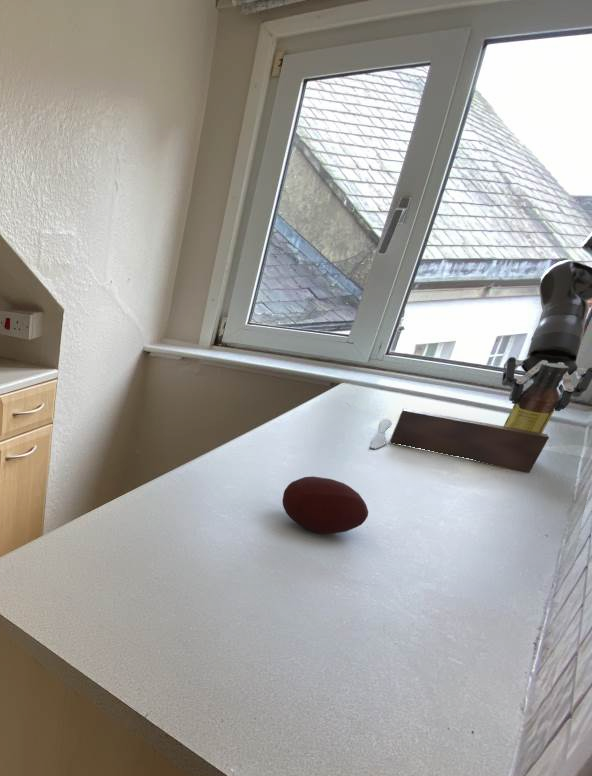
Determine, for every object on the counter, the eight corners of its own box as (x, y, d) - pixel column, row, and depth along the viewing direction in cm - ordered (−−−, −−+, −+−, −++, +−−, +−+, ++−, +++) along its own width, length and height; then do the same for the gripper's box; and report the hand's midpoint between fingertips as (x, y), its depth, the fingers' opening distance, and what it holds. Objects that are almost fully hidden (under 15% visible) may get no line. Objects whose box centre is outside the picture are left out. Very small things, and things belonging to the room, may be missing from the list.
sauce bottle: (507, 445, 126) (553, 360, 117) (537, 456, 121) (587, 368, 112) (484, 446, 125) (528, 360, 116) (513, 458, 120) (561, 368, 111)
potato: (260, 514, 94) (274, 470, 90) (306, 504, 98) (321, 462, 94) (323, 550, 84) (341, 502, 81) (370, 537, 88) (391, 491, 84)
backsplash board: (527, 469, 116) (547, 434, 112) (529, 472, 114) (549, 437, 110) (389, 440, 128) (403, 408, 125) (389, 443, 127) (403, 410, 123)
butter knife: (396, 420, 140) (383, 417, 141) (381, 450, 122) (366, 445, 123) (395, 422, 140) (382, 419, 142) (380, 452, 122) (365, 448, 124)
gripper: (519, 325, 121) (499, 389, 117) (613, 335, 113) (594, 404, 110) (504, 346, 127) (485, 407, 124) (592, 356, 119) (574, 422, 116)
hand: (536, 405), depth 117 cm, fingers closed on sauce bottle, 6 cm apart
